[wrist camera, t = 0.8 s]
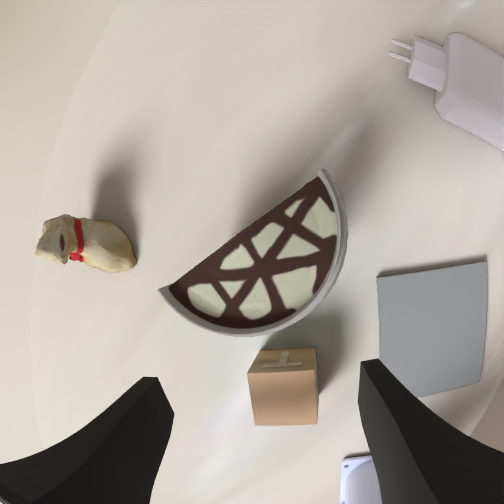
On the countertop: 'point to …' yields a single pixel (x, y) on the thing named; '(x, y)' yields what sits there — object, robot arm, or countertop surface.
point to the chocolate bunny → (86, 243)
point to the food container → (269, 267)
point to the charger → (461, 83)
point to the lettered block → (284, 387)
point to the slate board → (434, 326)
